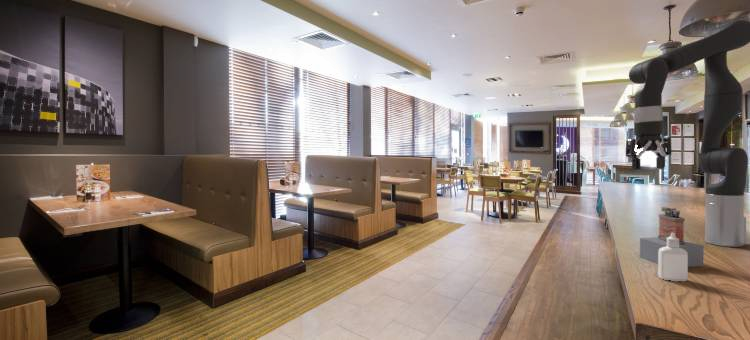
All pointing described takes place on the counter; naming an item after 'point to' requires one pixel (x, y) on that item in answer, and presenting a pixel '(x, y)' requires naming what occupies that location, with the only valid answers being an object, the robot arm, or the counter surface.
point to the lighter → (671, 224)
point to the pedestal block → (652, 245)
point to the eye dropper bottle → (673, 261)
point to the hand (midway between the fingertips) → (648, 168)
